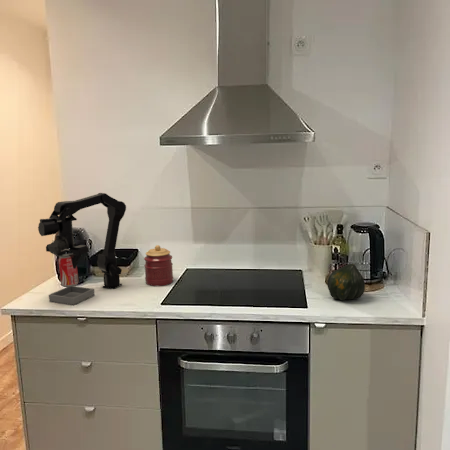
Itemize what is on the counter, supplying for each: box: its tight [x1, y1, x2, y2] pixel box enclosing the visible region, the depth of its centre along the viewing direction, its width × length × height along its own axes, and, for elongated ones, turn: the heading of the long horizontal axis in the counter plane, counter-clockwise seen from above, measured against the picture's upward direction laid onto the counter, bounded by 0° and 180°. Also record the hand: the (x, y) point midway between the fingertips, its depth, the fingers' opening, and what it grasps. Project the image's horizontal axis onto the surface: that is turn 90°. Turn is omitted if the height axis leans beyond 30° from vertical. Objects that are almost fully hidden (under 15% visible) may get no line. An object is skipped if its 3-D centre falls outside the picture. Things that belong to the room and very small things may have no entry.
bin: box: [48, 285, 95, 306], centre depth 202 cm, size 13×13×3 cm
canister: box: [143, 244, 174, 287], centre depth 220 cm, size 13×13×18 cm
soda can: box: [58, 253, 79, 288], centre depth 201 cm, size 7×7×13 cm
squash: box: [327, 263, 366, 301], centre depth 193 cm, size 14×15×15 cm
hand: (68, 268), depth 201 cm, fingers closed on soda can, 6 cm apart
